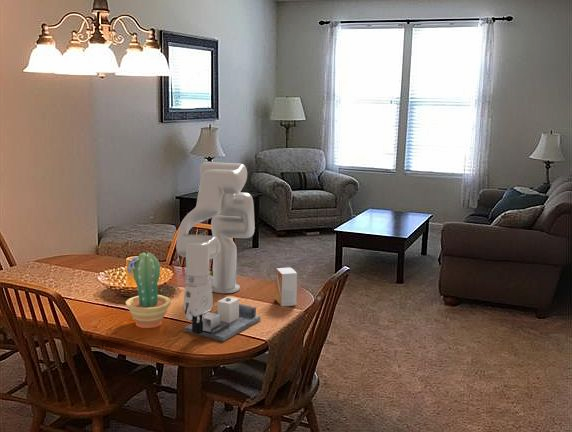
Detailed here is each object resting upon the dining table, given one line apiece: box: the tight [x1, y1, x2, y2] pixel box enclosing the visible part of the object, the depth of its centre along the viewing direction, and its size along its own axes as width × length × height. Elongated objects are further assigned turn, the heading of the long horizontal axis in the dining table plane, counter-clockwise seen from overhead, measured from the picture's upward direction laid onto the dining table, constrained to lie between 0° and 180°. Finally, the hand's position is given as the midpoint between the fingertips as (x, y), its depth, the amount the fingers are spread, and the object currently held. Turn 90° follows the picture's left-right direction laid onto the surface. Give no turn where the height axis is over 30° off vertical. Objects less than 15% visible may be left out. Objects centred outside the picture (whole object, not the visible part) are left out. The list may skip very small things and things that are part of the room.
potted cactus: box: [125, 252, 172, 329], centre depth 216 cm, size 15×15×25 cm
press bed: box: [184, 303, 261, 342], centre depth 218 cm, size 16×23×4 cm
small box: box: [275, 267, 298, 307], centre depth 243 cm, size 8×6×13 cm
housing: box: [217, 296, 240, 323], centre depth 220 cm, size 5×6×8 cm
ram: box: [203, 311, 221, 332], centre depth 211 cm, size 5×8×4 cm, turn 151°
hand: (197, 332), depth 205 cm, fingers closed
